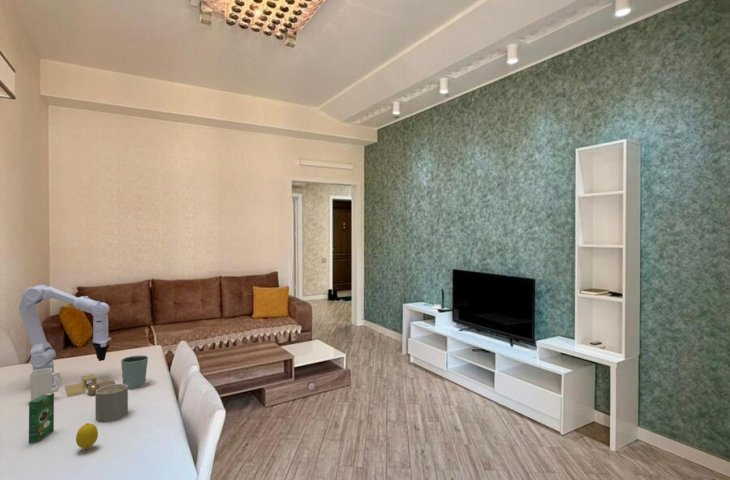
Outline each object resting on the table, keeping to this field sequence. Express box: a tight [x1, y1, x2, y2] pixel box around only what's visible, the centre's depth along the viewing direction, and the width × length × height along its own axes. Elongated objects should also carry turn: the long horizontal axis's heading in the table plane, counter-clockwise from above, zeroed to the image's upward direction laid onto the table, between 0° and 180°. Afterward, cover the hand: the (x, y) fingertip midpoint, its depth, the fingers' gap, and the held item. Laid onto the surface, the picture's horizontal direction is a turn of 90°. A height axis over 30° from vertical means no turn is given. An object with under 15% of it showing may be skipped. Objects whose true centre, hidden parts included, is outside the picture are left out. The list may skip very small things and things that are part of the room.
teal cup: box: [120, 355, 149, 391], centre depth 173 cm, size 10×10×12 cm
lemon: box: [75, 422, 99, 450], centre depth 121 cm, size 6×6×8 cm
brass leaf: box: [64, 373, 97, 398], centre depth 169 cm, size 12×11×4 cm
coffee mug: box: [94, 383, 129, 423], centre depth 145 cm, size 13×10×10 cm
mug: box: [29, 368, 63, 401], centre depth 157 cm, size 10×7×12 cm, turn 124°
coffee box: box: [28, 392, 55, 444], centre depth 129 cm, size 8×3×13 cm, turn 6°
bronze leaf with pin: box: [86, 379, 116, 396], centre depth 169 cm, size 12×10×4 cm
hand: (100, 359), depth 180 cm, fingers open, 4 cm apart
